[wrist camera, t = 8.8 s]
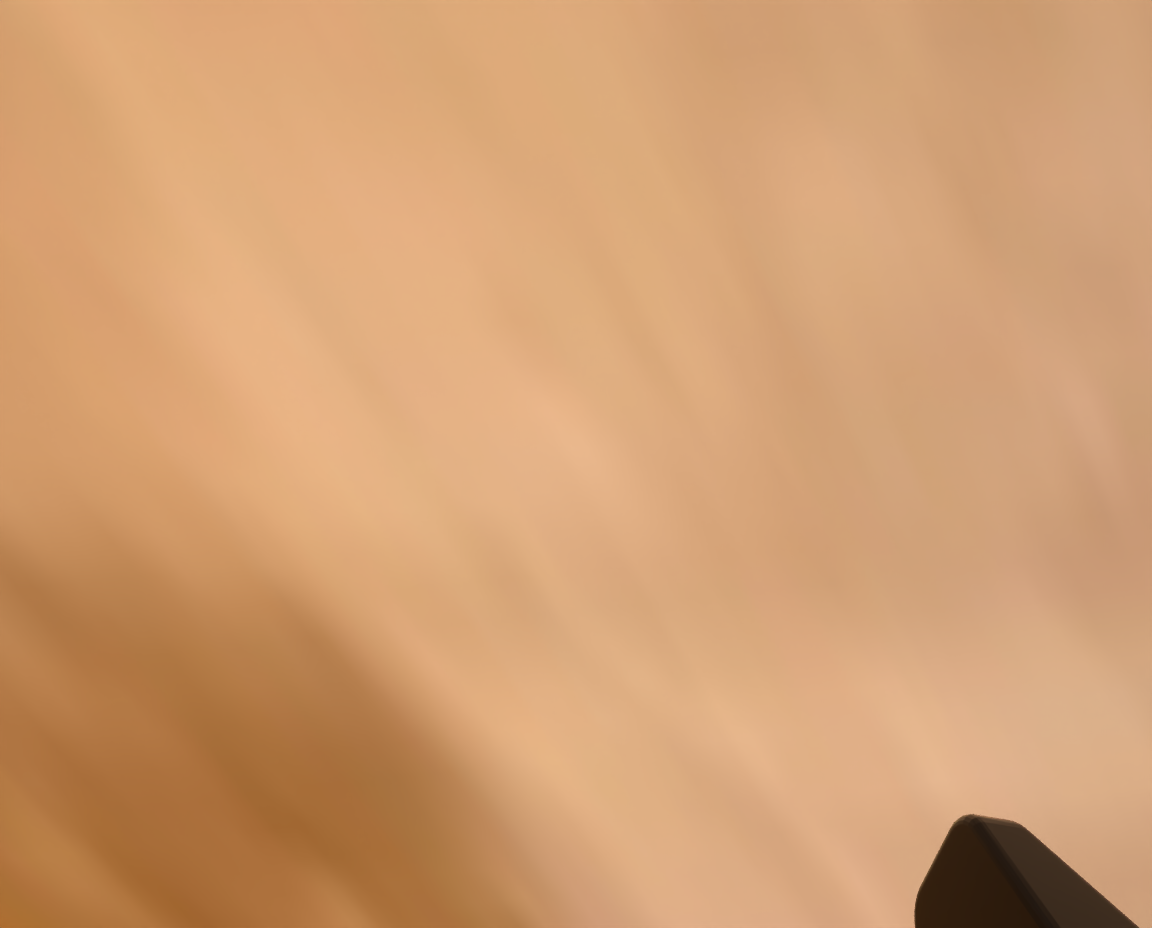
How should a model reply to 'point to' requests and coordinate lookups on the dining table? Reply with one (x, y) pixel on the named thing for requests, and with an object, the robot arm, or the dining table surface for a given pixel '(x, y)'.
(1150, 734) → the dining table surface
